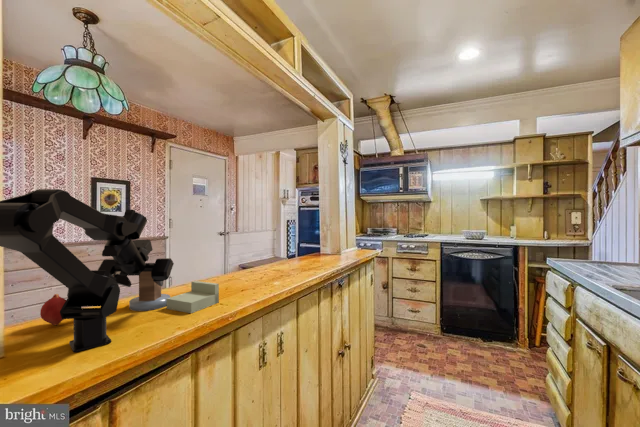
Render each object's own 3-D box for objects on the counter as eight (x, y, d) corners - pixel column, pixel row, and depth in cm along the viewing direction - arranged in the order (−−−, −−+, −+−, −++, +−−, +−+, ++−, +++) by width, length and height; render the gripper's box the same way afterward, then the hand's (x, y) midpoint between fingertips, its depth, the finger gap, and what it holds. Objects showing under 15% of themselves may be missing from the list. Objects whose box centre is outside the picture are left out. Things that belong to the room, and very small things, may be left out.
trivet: (175, 304, 92) (175, 298, 92) (135, 313, 84) (135, 306, 84) (162, 297, 100) (162, 291, 100) (124, 305, 92) (124, 298, 92)
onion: (35, 326, 75) (35, 295, 75) (63, 319, 80) (63, 289, 80) (46, 331, 72) (46, 298, 72) (74, 323, 77) (74, 292, 77)
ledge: (191, 313, 85) (191, 292, 85) (166, 308, 89) (166, 288, 89) (218, 302, 95) (218, 283, 95) (195, 298, 99) (195, 280, 99)
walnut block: (154, 300, 90) (154, 271, 90) (139, 301, 90) (138, 271, 90) (161, 296, 95) (161, 268, 95) (146, 296, 94) (146, 268, 94)
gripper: (171, 230, 85) (185, 263, 96) (102, 231, 84) (124, 263, 95) (158, 262, 77) (175, 293, 88) (82, 263, 76) (109, 295, 87)
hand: (146, 285), depth 90 cm, fingers open, 9 cm apart
